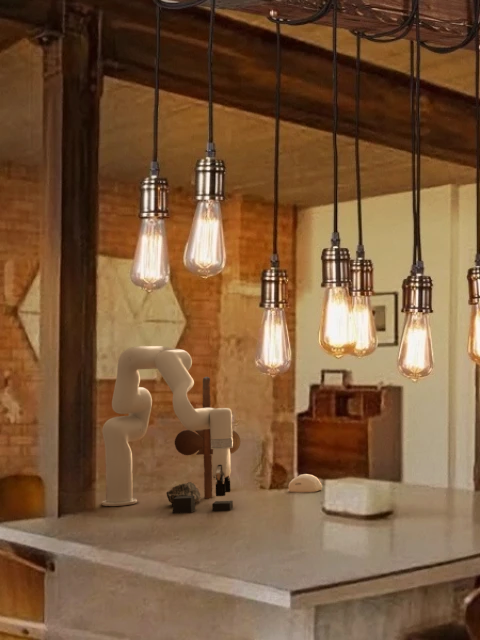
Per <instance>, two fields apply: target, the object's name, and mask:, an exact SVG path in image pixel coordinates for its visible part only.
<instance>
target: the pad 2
mask: <svg viewBox="0 0 480 640" xmlns="http://www.w3.org/2000/svg"><path fill="white" fill-rule="evenodd" d="M211 507H212V509H211V510H212V512H229V511H231V510H233V508H234V501H233V500H216V501H214V502H212V505H211Z"/></svg>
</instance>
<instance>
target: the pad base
mask: <svg viewBox="0 0 480 640" xmlns="http://www.w3.org/2000/svg"><path fill="white" fill-rule="evenodd" d="M194 511H196V502H195V503H194V504H192V505H187V506H174V505H172V514H192V513H193V512H194Z"/></svg>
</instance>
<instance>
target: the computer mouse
mask: <svg viewBox="0 0 480 640" xmlns="http://www.w3.org/2000/svg"><path fill="white" fill-rule="evenodd" d="M287 487H288V492H289V493H290V492H291V493H314V492H319V491H321V490H322V489H323V484H322V483H321V481H320V479H319V478H318V477H317V476H315V475H313V474H309V473H303V474H299V475H297V476H295V477H294V478H292V479H291V481H289V483H288V485H287Z"/></svg>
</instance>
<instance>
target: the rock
mask: <svg viewBox="0 0 480 640" xmlns="http://www.w3.org/2000/svg"><path fill="white" fill-rule="evenodd" d="M177 496H195V503H196V502H198V501H200V500H201V498H202V497H201V492H200V490H199V489H198V487H197V485H196V484H195V483H193V482H192V481H189V482H185V483H181V484H178V485H175V486H173V487H171V488H170V490H168V491H166V497H167V500H168V502H169V503H170V504H171V505H172V506H174V498H175V497H177Z"/></svg>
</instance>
